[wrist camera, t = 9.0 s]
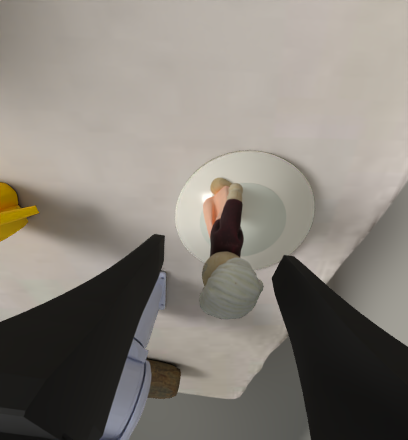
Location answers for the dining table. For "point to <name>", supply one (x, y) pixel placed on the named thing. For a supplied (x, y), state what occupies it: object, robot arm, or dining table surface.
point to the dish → (250, 206)
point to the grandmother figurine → (227, 256)
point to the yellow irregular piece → (12, 212)
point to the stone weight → (163, 380)
